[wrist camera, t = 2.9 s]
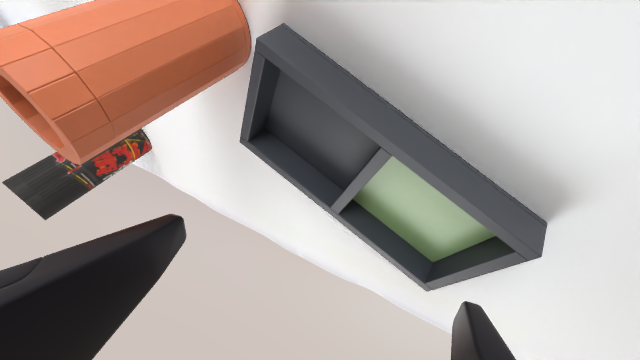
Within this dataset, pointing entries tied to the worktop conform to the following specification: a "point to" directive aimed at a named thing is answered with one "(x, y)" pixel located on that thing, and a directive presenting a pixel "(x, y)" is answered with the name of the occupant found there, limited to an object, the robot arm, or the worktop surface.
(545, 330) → the worktop surface
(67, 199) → the deodorant
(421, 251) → the divided grey tray
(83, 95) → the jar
